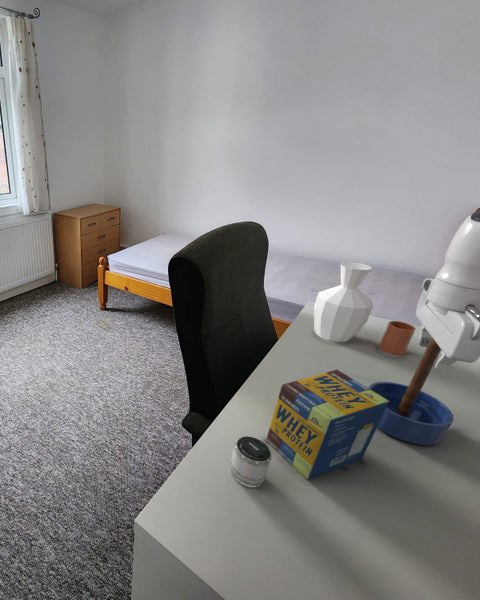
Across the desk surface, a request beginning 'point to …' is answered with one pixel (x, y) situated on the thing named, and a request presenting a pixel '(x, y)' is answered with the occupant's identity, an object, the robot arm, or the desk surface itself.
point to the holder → (397, 337)
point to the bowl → (413, 415)
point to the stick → (419, 378)
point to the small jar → (250, 461)
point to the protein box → (324, 422)
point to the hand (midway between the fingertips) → (431, 356)
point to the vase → (343, 305)
